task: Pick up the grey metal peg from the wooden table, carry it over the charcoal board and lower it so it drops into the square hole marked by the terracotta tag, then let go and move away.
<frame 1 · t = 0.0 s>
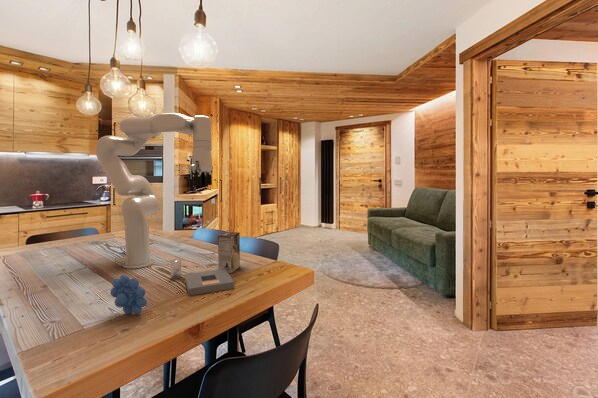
hand: (203, 185, 125), 37 cm above the table, tool pointing down, fingers open, 9 cm apart
hole board: (208, 284, 112), on the table
peg: (176, 277, 119), on the table
coffee box: (229, 269, 129), on the table
grapes: (127, 315, 87), on the table
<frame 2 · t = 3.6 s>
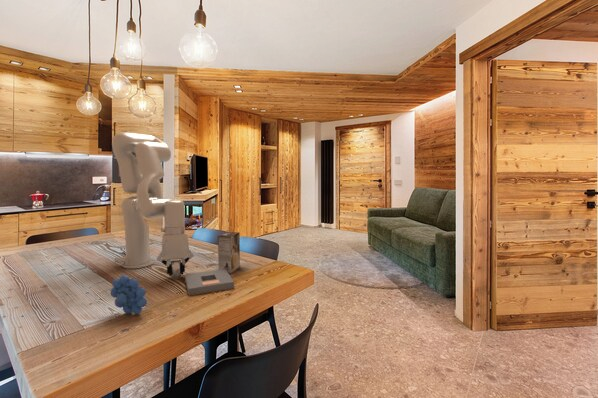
hand: (176, 273, 119), 1 cm above the table, tool pointing down, fingers closed on peg, 4 cm apart
peg: (176, 277, 119), on the table, touching gripper
everything else where it was.
when the fingers open (4 cm above the table, at t = 10.1 s): peg drops 2 cm, resting in hole board.
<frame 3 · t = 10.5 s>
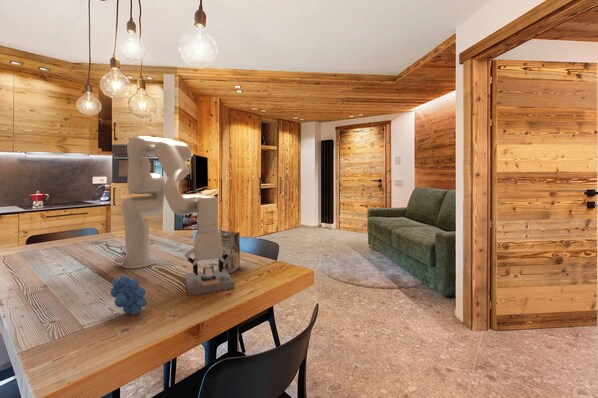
hand: (208, 272, 111), 5 cm above the table, tool pointing down, fingers open, 8 cm apart
peg: (208, 284, 112), resting in hole board
everything else where it was.
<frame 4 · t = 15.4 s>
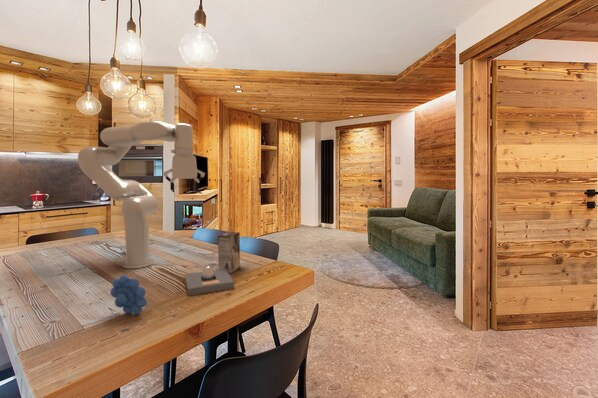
hand: (185, 191, 128), 34 cm above the table, tool pointing down, fingers open, 9 cm apart
nothing on the table moved.
at the end: peg 0.1 cm off-centre on the hole board, point 0.0 cm above the hole board's base; peg tilted 0°; the gripper is holding nothing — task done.
